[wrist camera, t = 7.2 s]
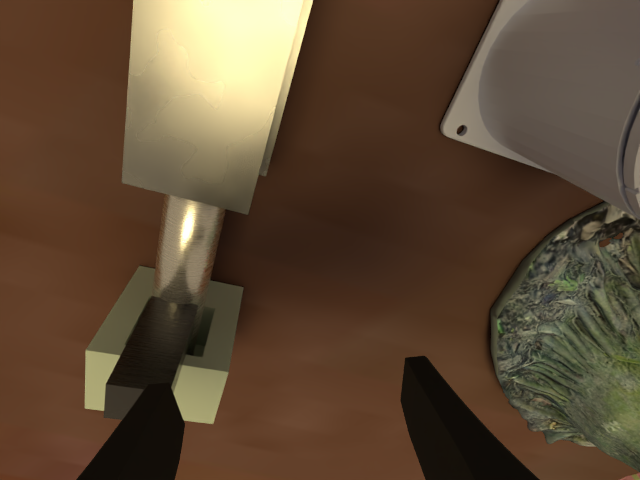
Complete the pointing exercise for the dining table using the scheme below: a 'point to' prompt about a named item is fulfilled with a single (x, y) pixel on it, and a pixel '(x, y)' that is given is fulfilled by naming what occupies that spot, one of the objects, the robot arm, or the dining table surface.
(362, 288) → the dining table surface
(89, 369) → the socket block
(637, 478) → the toy food platter
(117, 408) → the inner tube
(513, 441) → the dining table surface
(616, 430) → the tree stump
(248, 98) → the grey boxy piece
